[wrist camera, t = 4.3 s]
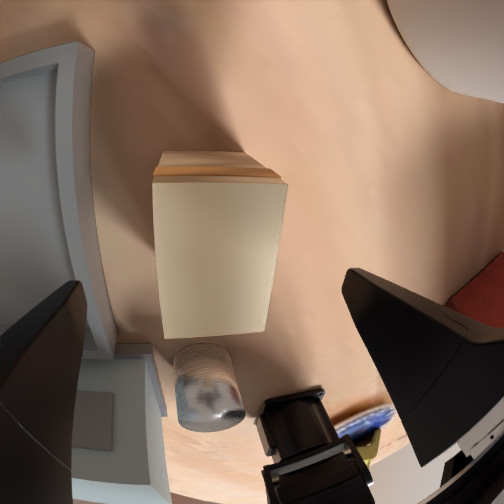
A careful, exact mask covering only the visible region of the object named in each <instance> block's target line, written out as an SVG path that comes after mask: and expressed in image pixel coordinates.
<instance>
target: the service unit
mask: <svg viewBox="0 0 504 504" xmlns="http://www.w3.org/2000/svg"><path fill="white" fill-rule="evenodd" d="M165 416H167V407H166V403H165V400H164V396H163V392H162V388H161V384H160V380H159V376H158V371H157V367H156V363H155V358H154V353H153V349H152V344H151V343H140V344H116V346H115V354H114V360H99V359H82V360H81V366H80V372H79V379H78V386H77V394H76V402H75V411H74V423H73V437H72V470H71V471H72V498H74V499H79V500H86V501H91V502H99V503H106V504H172V501H171V495H170V489H169V482H168V475H167V468H166V460H165V451H164V442H163V431H162V419H161V417H165Z"/></svg>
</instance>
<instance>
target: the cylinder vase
mask: <svg viewBox="0 0 504 504" xmlns="http://www.w3.org/2000/svg"><path fill="white" fill-rule="evenodd" d="M387 3H388V6H389V9H390V12H391V15H392V17H393V19H394V22H395V24H396V26H397V28H398V30H399V32H400V34H401V36H402V38H403V39H404V41H405V43H406V45H407V46H408V48H409V49H410V51H411V52H412V54H413V55H414V57H415V58H416V59H417V61H418V62H419V63H420V65H421V66H422V67H423V68H424V69H425V70H426V72H427V73H428V74H429V75H430V76H431V77H432V78H433V79H435V80H436V81H437V82H438V83H439V84H441V85H442V86H444V87H445V88H447V89H448V90H450V91H452V92H455V93H458V94H461V95H467V96H472V97H477V98H482V99H486V100H491V101H495V102H499V103H503V104H504V0H387Z"/></svg>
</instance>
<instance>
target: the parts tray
mask: <svg viewBox="0 0 504 504" xmlns="http://www.w3.org/2000/svg"><path fill="white" fill-rule="evenodd" d="M94 54H95V51H94V50H93V49H91V48H89V47H88V46H86V45H84V44H83V43H81V42H79V41H76V42H71V43H67V44H62V45H58V46H54V47H50V48H46V49H42V50H39V51H35V52H32V53H29V54H25V55H22V56H19V57H16V58H13V59H11V60H8V61H5V62H2V63H0V335H1V334H3V333H4V332H5V331H6V330H7V329H8V328H10V327H11V326H12V325H13V324H14V323H15V322H17V321H18V320H19V319H20V318H21V317H23V316H24V315H25V314H26V313H28V312H29V311H30V310H31V309H32V308H34V307H35V306H36V305H37V304H39V303H40V302H41V301H43V300H44V299H45V298H46V297H48V296H49V295H50V294H52V293H53V292H54V291H55V290H57V289H58V288H59V287H61V286H62V285H63V284H65V283H66V282H67V281H69V280H80V281H81V282H82V285H83V288H84V292H85V296H86V300H87V305H88V308H87V317H86V326H85V337H84V348H83V355H82V359H99V360H114V354H115V346H116V339H117V332H118V331H117V327H116V324H115V320H114V316H113V312H112V308H111V304H110V300H109V295H108V291H107V286H106V282H105V277H104V272H103V266H102V261H101V255H100V249H99V243H98V236H97V229H96V221H95V213H94V204H93V193H92V180H91V163H90V101H91V84H92V72H93V62H94Z"/></svg>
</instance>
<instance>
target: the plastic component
mask: <svg viewBox="0 0 504 504" xmlns="http://www.w3.org/2000/svg"><path fill="white" fill-rule="evenodd" d="M380 433H381V429H377V430H375V431H374V434H373V437H372V440H371V443H370V445H369V446H360V447H356V448H357V450H358V452H359V453H360V455H361V457H362V458H363V460H364V462H365V464H366V465H367V467H368V468H369V464H370V461H371V460H372V459H374V458H375V457H376V455H377V451H378V445H379V440H380ZM344 454H346V452H344Z"/></svg>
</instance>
